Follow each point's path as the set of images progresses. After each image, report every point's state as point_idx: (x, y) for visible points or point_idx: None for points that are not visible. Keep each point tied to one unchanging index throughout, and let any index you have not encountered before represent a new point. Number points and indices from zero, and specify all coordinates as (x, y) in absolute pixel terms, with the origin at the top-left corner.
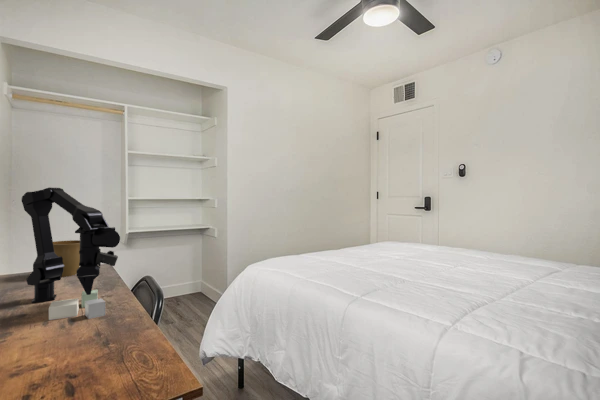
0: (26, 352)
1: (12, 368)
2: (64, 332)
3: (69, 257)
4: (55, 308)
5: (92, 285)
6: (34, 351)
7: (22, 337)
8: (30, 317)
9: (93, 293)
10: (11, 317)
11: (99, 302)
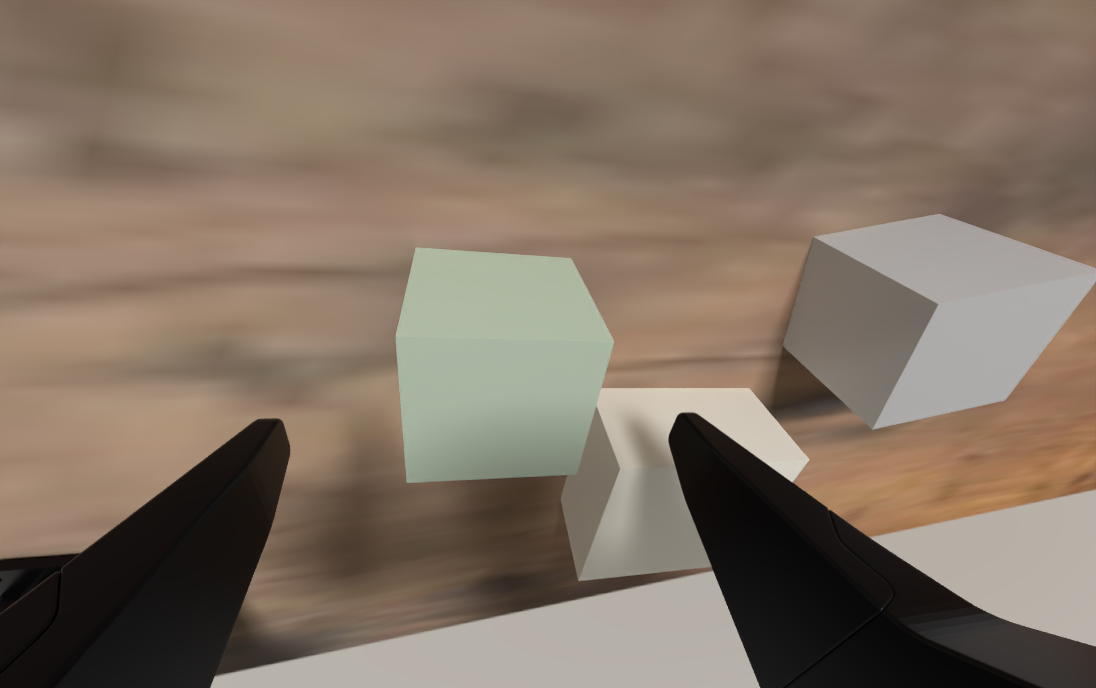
0: (1003, 484)
1: (1074, 487)
2: (960, 415)
3: None
4: None
5: (821, 506)
6: (1025, 468)
7: None
8: (568, 555)
9: (599, 376)
10: (507, 604)
11: (1062, 324)
